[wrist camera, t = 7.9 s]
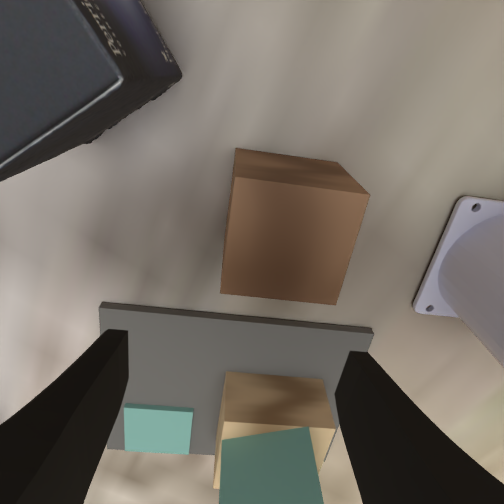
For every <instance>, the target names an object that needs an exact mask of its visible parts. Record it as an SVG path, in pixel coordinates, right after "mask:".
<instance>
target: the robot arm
mask: <svg viewBox="0 0 504 504" xmlns="http://www.w3.org/2000/svg"><path fill="white" fill-rule="evenodd" d="M476 203H477V206H476V207H475V208H474V209H472V206H473V205H474V204H476ZM471 209H472V210H471ZM429 305H431V306H430V307H429V308H427V306H429ZM413 309H414V310H415V311H416V312H417V313H420V314H429V315H439V316H449V317H459V318H460V319H461V320H462V321H463V322H464V323H465V324H466V326H467V327H468V328H469V329H470V330H471V331H472V332H473V333H474V335H475V336H476V337H477V338H478V339H479V340H480V341H481V343H482V344H483V345H484V346H485V347H486V348H487V349H488V351H489V352H490V353H491V354H492V355H493V356H494V357H495V359H496V360H497V361H498V362H499V363H500V364H501V365H502V366H503V368H504V201H500V200H493V199H485V198H478V197H471V196H464V197H462V198H460V199H459V200H458V202H457V203H456V205H455V208H454V210H453V212H452V215H451V217H450V219H449V222H448V224H447V226H446V229H445V231H444V233H443V236H442V238H441V240H440V242H439V245H438V247H437V249H436V252H435V254H434V256H433V259H432V261H431V263H430V266H429V268H428V270H427V273H426V275H425V277H424V280H423V282H422V284H421V287H420V289H419V291H418V294H417V296H416V298H415V301H414V303H413ZM128 379H129V349H128V330H117V329H107V330H106V331H104V333H103V334H102V335H101V336H100V337H99V338H98V339H97V340H96V341H95V342H94V343H93V344H92V345H91V346H90V347H89V348H88V349H87V350H86V351H85V352H84V353H83V354H82V355H81V356H80V357H79V358H78V359H77V360H76V361H75V362H74V363H73V364H72V365H71V366H70V367H69V368H67V369H66V370H65V371H64V372H63V373H62V374H61V375H60V376H59V377H58V378H57V379H56V380H55V381H53V382H52V383H51V384H50V385H49V386H48V387H47V388H45V389H44V390H43V391H42V392H41V393H40V394H38V395H37V396H36V397H35V398H34V399H33V400H31V401H30V402H29V403H28V404H27V405H25V406H24V407H23V408H22V409H20V410H19V411H18V412H17V413H15V414H14V415H13V416H11V417H10V418H9V419H8V420H6V421H5V422H4V423H2V424H1V425H0V504H83V503H84V500H85V497H86V495H87V492H88V489H89V486H90V484H91V481H92V479H93V476H94V474H95V471H96V469H97V466H98V464H99V461H100V459H101V456H102V454H103V451H104V449H105V446H106V444H107V441H108V439H109V436H110V434H111V431H112V429H113V426H114V424H115V421H116V419H117V416H118V414H119V411H120V408H121V405H122V401H123V398H124V394H125V391H126V387H127V383H128ZM334 395H335V401H336V407H337V413H338V419H339V424H340V428H341V431H342V435H343V438H344V442H345V445H346V448H347V452H348V455H349V458H350V462H351V465H352V468H353V472H354V475H355V478H356V481H357V485H358V488H359V491H360V495H361V498H362V502H363V504H504V484H503V483H502V482H500V481H499V480H498V479H496V478H495V477H494V476H493V475H491V474H490V473H489V472H488V471H486V470H485V469H484V468H483V467H482V466H480V465H479V464H478V463H477V462H476V461H475V460H473V459H472V458H471V457H470V456H469V455H468V454H467V453H465V452H464V451H463V450H462V449H461V448H460V447H458V446H457V445H456V444H455V443H454V442H453V441H452V440H451V439H450V438H449V437H448V436H447V435H445V434H444V433H443V432H442V431H441V430H440V429H439V428H438V427H437V426H436V425H435V424H434V423H433V422H432V421H431V420H430V419H429V418H428V417H427V416H426V415H425V414H424V413H423V412H422V411H421V410H420V409H419V408H418V407H417V406H416V405H415V404H414V402H413V401H412V400H411V399H410V398H409V397H408V396H407V395H406V394H405V393H404V392H403V391H402V390H401V388H400V387H399V386H398V385H397V384H396V383H395V382H394V381H393V380H392V378H391V377H390V376H389V375H388V374H387V373H386V372H385V371H384V370H383V368H382V367H381V366H380V365H379V364H378V363H377V362H376V361H375V360H374V358H373V357H372V356H371V355H370V354H369V353H368V352H361V351H350V352H349V354H348V357H347V360H346V363H345V366H344V368H343V371H342V374H341V377H340V380H339V382H338V385H337V388H336V391H335V393H334Z"/></svg>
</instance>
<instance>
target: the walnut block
mask: <svg viewBox="0 0 504 504" xmlns="http://www.w3.org/2000/svg"><path fill="white" fill-rule="evenodd" d="M369 197H370V194H369V193H368V192H367V191H366V190H365V189H364V188H363V187H362V186H361V185H360V184H359V183H358V182H357V181H356V180H355V179H354V178H353V177H352V176H350V175H349V174H348V173H347V172H346V171H345V170H344V169H343V168H342V167H341V166H340V165H339V164H338V163H337V162H331V161H324V160H317V159H310V158H303V157H296V156H289V155H282V154H275V153H268V152H261V151H254V150H247V149H240V148H236V150H235V158H234V167H233V175H232V183H231V191H230V199H229V207H228V215H227V223H226V231H225V239H224V250H223V263H222V276H221V288H220V293H221V294H231V295H241V296H250V297H260V298H270V299H280V300H289V301H299V302H309V303H319V304H328V305H336V303H337V300H338V297H339V293H340V290H341V287H342V284H343V281H344V277H345V274H346V271H347V268H348V265H349V261H350V258H351V255H352V252H353V248H354V245H355V242H356V239H357V236H358V232H359V229H360V226H361V223H362V220H363V216H364V213H365V210H366V207H367V204H368V200H369Z"/></svg>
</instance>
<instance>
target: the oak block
mask: <svg viewBox="0 0 504 504" xmlns="http://www.w3.org/2000/svg"><path fill="white" fill-rule="evenodd" d="M307 426H309V431H310V436H311V441H312V446H313V451H314V456H315V461H316V466H317V472H318V474H319V472H320V469H321V466H322V464H323V461H324V459H325V456H326V453H327V451H328V448H329V446H330V443H331V440H332V438H333V435H334V433H335V430H336V427H335V424H334V420H333V416H332V413H331V409H330V405H329V401H328V398H327V394H326V390H325V387H324V383H323V379H314V378H302V377H290V376H277V375H265V374H253V373H241V372H228V371H226V376H225V382H224V389H223V395H222V402H221V408H220V414H219V421H218V427H217V434H216V448H215V464H214V481H213V488H215V489H220V470H221V447H222V440H224V439H230V438H237V437H243V436H250V435H256V434H262V433H269V432H275V431H282V430H288V429H294V428H301V427H307Z"/></svg>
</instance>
